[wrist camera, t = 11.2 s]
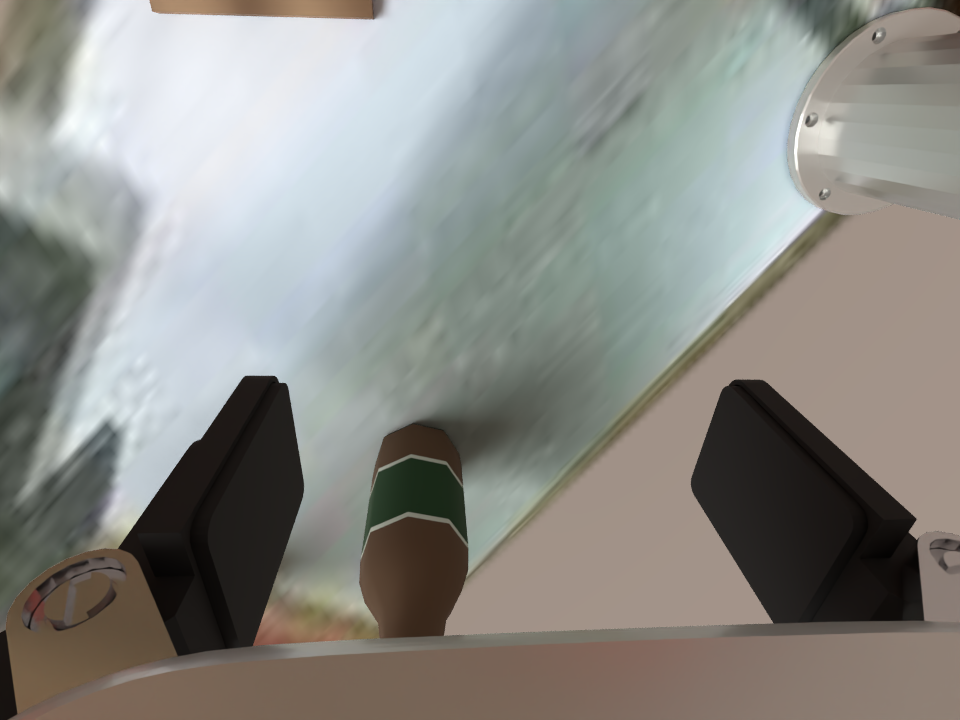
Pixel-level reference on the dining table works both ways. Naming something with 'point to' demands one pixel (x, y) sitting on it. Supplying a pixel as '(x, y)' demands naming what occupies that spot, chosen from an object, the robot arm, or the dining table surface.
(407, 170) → the dining table surface
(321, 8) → the walnut U-rest
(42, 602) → the robot arm
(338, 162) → the dining table surface
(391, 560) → the beer bottle
